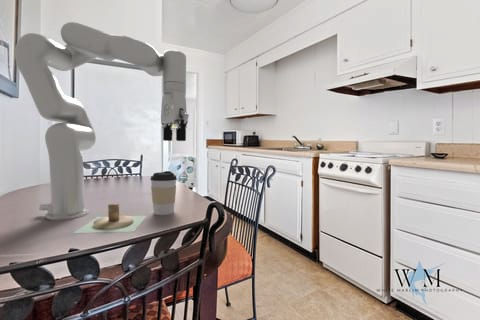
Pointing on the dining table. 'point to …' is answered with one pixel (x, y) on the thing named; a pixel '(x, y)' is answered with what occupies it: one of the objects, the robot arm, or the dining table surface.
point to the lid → (113, 219)
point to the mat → (131, 228)
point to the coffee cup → (163, 192)
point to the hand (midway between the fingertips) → (174, 140)
